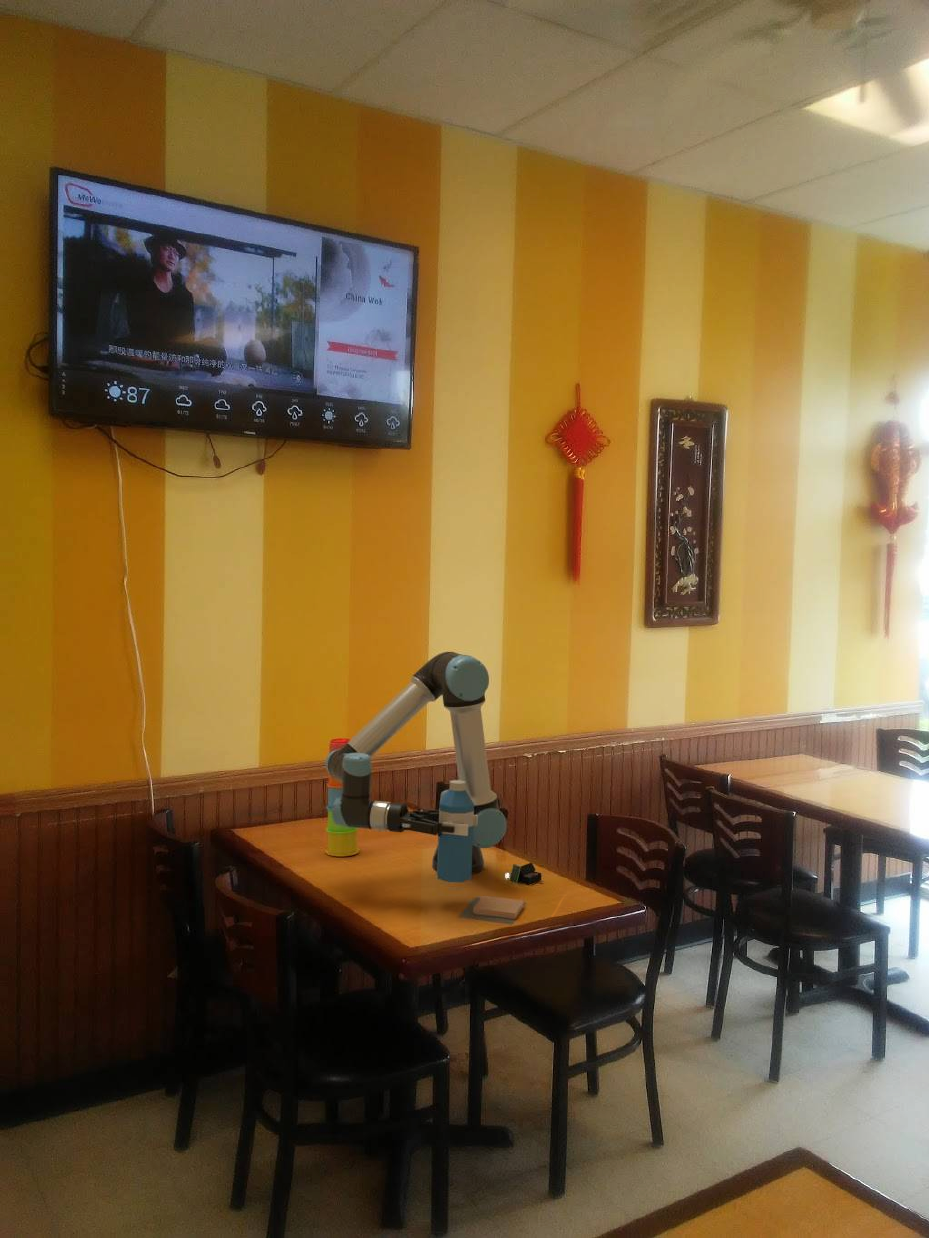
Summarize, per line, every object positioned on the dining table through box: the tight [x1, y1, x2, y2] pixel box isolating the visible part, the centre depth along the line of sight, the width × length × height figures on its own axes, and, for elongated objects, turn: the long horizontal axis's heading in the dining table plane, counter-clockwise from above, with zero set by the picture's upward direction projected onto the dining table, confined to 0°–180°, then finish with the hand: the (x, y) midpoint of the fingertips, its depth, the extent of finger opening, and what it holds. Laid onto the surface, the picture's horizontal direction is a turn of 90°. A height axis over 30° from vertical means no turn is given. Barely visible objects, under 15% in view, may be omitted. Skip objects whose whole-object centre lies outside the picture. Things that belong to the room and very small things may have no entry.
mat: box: [458, 896, 527, 925], centre depth 264 cm, size 16×14×1 cm
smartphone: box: [504, 862, 544, 888], centre depth 290 cm, size 15×15×6 cm
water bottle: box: [436, 779, 474, 883], centre depth 265 cm, size 9×9×25 cm
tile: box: [473, 895, 525, 919], centre depth 263 cm, size 10×2×11 cm
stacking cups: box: [325, 737, 360, 857], centre depth 310 cm, size 10×10×35 cm
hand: (472, 825), depth 264 cm, fingers closed on water bottle, 9 cm apart
